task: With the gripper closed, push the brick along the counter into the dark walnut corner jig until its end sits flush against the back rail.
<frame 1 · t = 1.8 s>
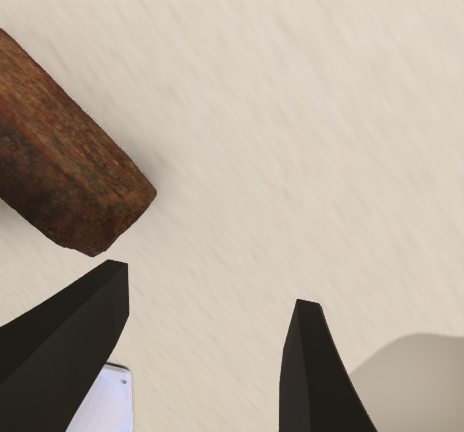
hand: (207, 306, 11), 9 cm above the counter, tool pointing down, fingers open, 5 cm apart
brick: (70, 133, 20), on the counter
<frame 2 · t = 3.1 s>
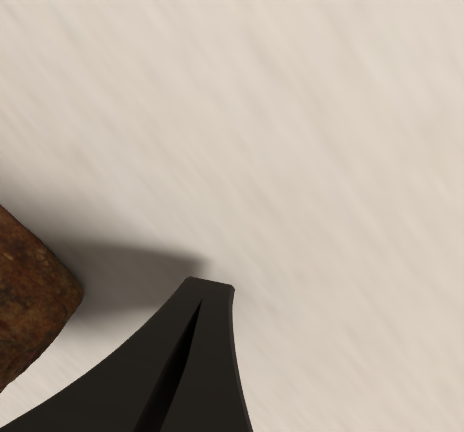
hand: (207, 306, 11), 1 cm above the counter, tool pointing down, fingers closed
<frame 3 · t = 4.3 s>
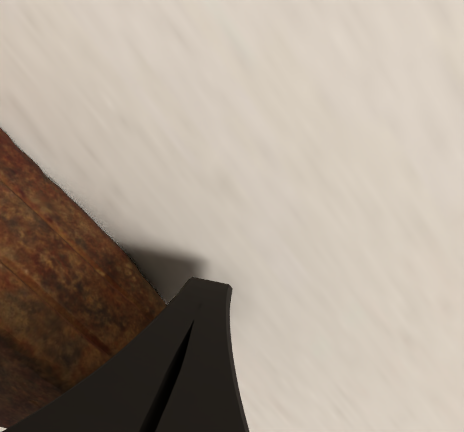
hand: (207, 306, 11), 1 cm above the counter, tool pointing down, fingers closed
brick: (27, 206, 12), on the counter, touching gripper
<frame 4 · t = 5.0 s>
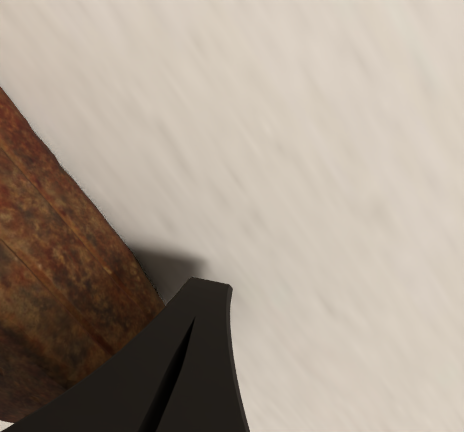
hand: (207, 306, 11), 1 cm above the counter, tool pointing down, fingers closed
brick: (33, 192, 12), on the counter, touching gripper
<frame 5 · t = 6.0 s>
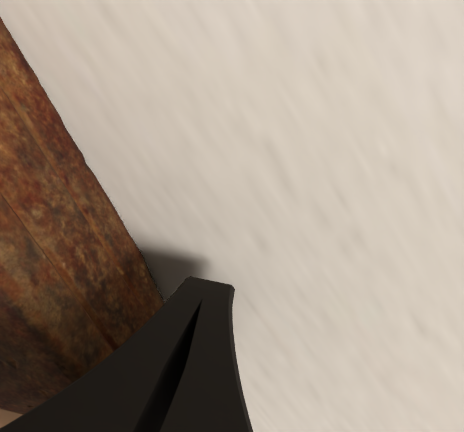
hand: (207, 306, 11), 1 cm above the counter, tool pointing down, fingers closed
brick: (50, 182, 12), on the counter
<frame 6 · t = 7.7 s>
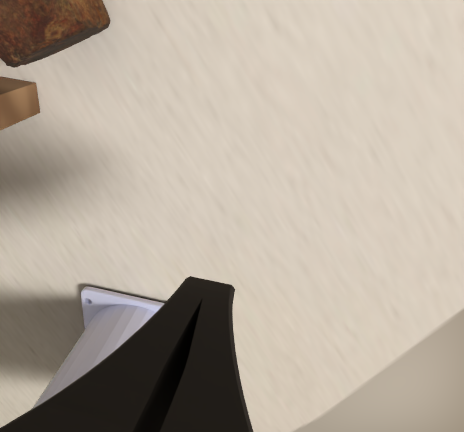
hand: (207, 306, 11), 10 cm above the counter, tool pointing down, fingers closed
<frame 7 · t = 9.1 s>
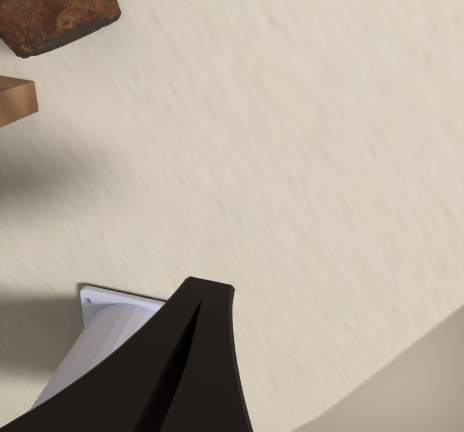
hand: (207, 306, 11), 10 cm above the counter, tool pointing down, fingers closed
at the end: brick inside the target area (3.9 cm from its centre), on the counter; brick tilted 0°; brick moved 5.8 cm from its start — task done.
